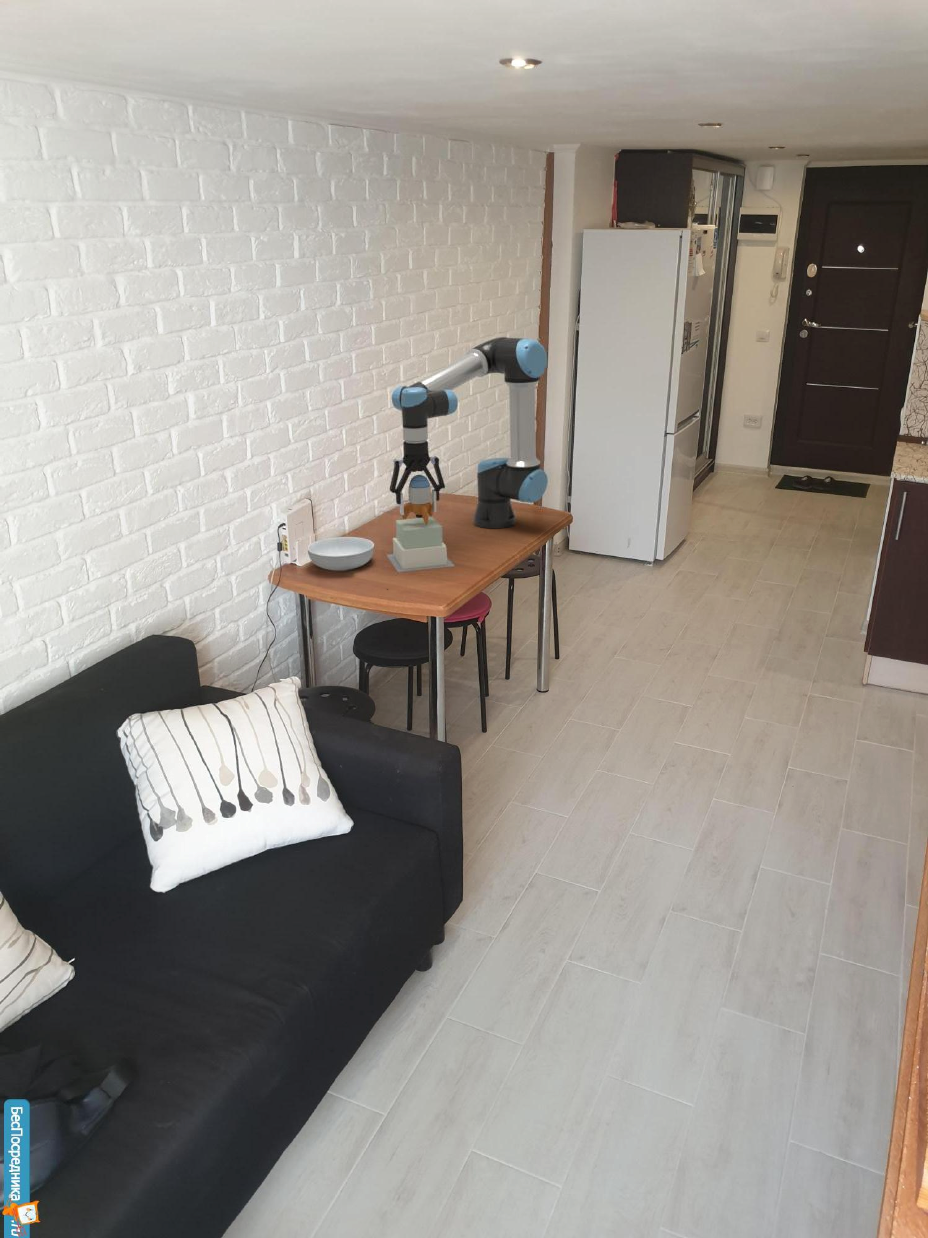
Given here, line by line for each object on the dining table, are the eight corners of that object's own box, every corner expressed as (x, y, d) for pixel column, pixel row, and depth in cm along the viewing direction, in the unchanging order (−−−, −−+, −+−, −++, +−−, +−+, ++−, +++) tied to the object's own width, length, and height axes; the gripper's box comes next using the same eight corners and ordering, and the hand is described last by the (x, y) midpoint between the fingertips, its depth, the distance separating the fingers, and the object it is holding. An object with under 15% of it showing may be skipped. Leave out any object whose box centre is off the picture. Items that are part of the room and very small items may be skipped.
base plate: (440, 552, 311) (440, 549, 310) (454, 569, 294) (454, 565, 294) (386, 557, 306) (386, 554, 306) (398, 575, 290) (397, 571, 290)
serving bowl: (387, 560, 304) (386, 539, 301) (354, 581, 286) (352, 559, 283) (331, 553, 312) (329, 533, 309) (295, 572, 294) (293, 551, 292)
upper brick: (433, 534, 305) (432, 516, 302) (442, 545, 294) (442, 526, 292) (396, 538, 302) (395, 520, 299) (404, 549, 291) (403, 530, 289)
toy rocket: (434, 527, 290) (422, 482, 283) (401, 531, 292) (389, 486, 285) (440, 513, 298) (429, 469, 291) (408, 518, 301) (396, 474, 294)
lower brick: (435, 551, 308) (435, 533, 306) (446, 564, 295) (446, 546, 293) (393, 555, 304) (392, 537, 302) (402, 569, 292) (402, 550, 290)
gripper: (448, 435, 292) (449, 506, 300) (376, 440, 286) (380, 512, 295) (454, 440, 285) (456, 512, 294) (381, 445, 280) (385, 518, 288)
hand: (418, 512), depth 294 cm, fingers closed on toy rocket, 10 cm apart
